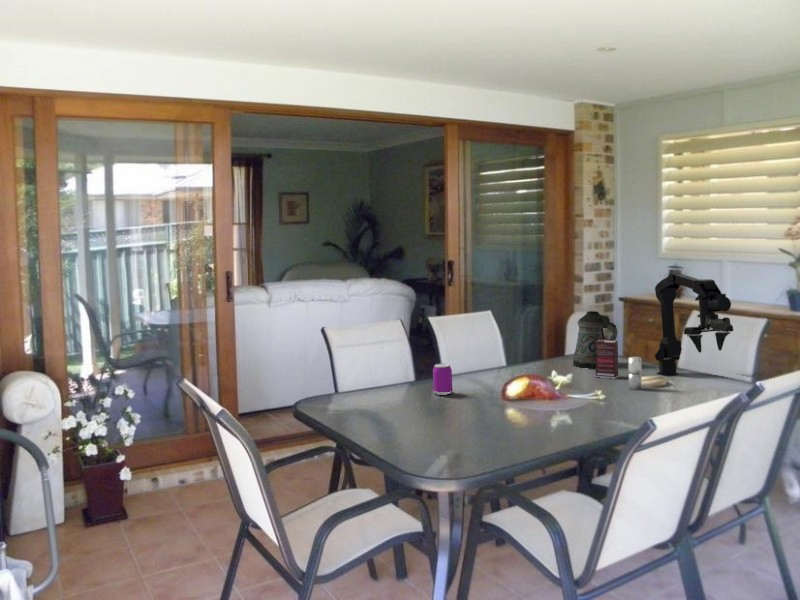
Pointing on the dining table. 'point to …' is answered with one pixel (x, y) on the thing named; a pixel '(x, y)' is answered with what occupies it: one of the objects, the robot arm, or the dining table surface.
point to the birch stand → (653, 381)
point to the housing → (634, 373)
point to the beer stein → (591, 338)
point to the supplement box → (606, 359)
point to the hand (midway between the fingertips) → (710, 351)
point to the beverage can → (442, 377)
